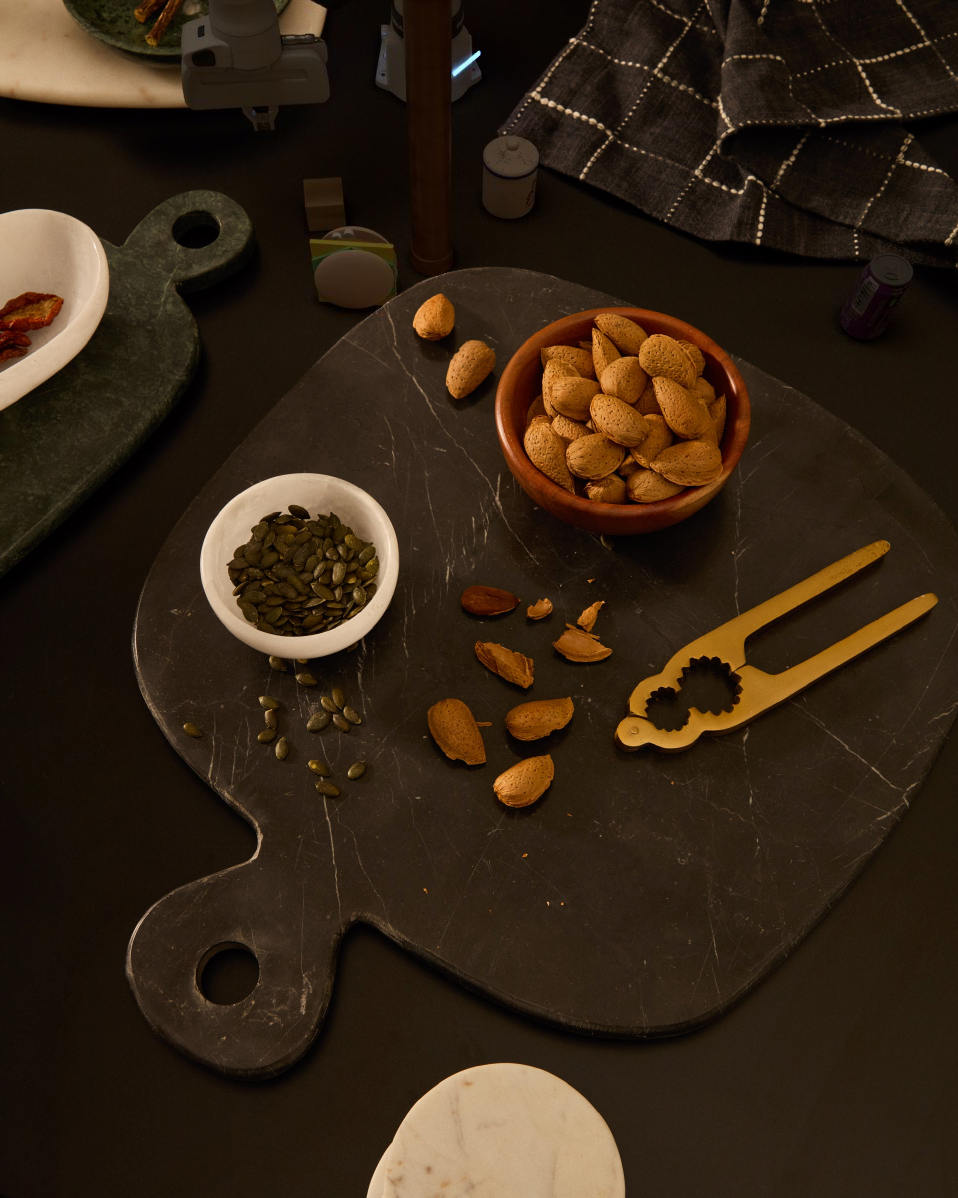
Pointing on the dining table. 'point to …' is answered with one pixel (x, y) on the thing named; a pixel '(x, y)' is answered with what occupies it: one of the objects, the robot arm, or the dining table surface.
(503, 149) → the teacup with lid
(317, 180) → the maple block
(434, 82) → the pepper mill
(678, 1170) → the dining table surface
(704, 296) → the dining table surface
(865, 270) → the beverage can
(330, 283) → the hamburger
